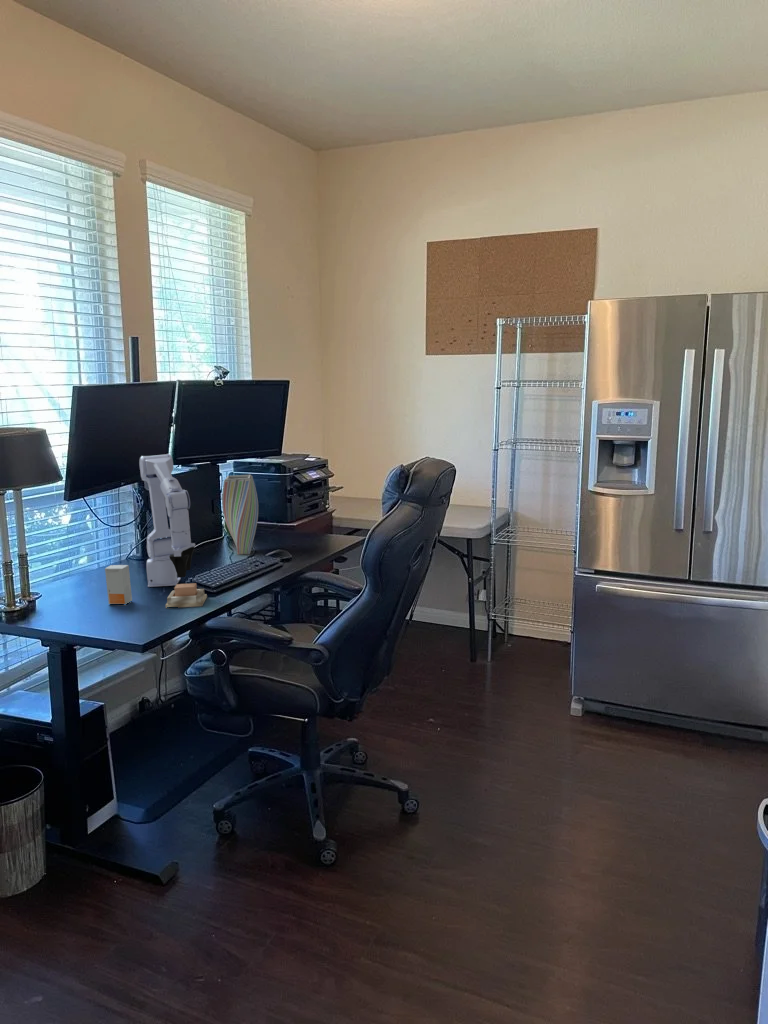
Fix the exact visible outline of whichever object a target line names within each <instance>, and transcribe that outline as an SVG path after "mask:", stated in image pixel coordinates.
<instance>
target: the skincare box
mask: <svg viewBox="0 0 768 1024" xmlns="http://www.w3.org/2000/svg"><path fill="white" fill-rule="evenodd" d="M129 566H130V565H128V564H110V565H109V566H107V567H105V568H104V573H105V580H106V581H105V583H106V592H107V601H108V602H107V604H108V605H109V604H127V603H129V602H130V601H132V602H133V596H132V586H131V575H130V567H129ZM130 603H131V602H130ZM130 603H129V604H130Z"/></svg>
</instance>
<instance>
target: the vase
mask: <svg viewBox="0 0 768 1024" xmlns="http://www.w3.org/2000/svg"><path fill="white" fill-rule="evenodd" d="M221 494H222V496H221V497H222V498H221V506H222V514H223V517H224V521H225V524H226V526H227V529H228V532H229V533H230V536H231V538H232V540H233V543H234V545H235V547H236V553H237V554H236V555H250V554H251V550H252V547H253V542H254V539H255V535H256V532H257V531H256V530H257V525H258V520H259V500H258V493H257V488H256V483H255V481H254V477H253V475H252V474H241V475H239V474H238V475H227V476H226V477H225V478H224V480H223V486H222V493H221Z"/></svg>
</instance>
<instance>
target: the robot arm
mask: <svg viewBox="0 0 768 1024" xmlns="http://www.w3.org/2000/svg"><path fill="white" fill-rule="evenodd" d="M138 461H139V462H138V464H139V470H140V471H139V472H140V473H139V474H140V478H141V481H143V482H146V483H147V486H148V491H149V498H150V499H149V501H150V509H151V515H152V522H153V524H152V525H153V530H152V531H151V532H150V533H149V534H148V535H147V536H146V552H147V555H148V557H149V558H148V559H147V560H146V579H147V587H148V588H150V587H151V588H153V587H169V586H171V587H173V586H176V585H177V584H179V582H180V581H181V578H185V577H186V575H187V571H190V570H191V566H192V565H191V564H192V556H193V554H194V550H195V547H196V543H195V542H192V539H191V527H190V517H189V516H190V515H189V510H190V508H191V499H190V494H189V492H188V490H187V489H186V490H185V489H183V488H182V486H181V484H180V482H179V480H178V479H177V478H175V477H173V475H172V472H173V470H174V460H173V457H172V455H171V454H170V453H166V454H165V453H164V454H157V455H156V454H155V455H141V456H140V457H139V460H138ZM168 518H169V523H168ZM169 526H170V527H169Z"/></svg>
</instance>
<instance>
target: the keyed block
mask: <svg viewBox="0 0 768 1024" xmlns="http://www.w3.org/2000/svg"><path fill="white" fill-rule="evenodd" d="M197 587H198V586H197V583H196V582H194V583H193V582H192V583H177V585H174V587H173V589H174V590H175V596H194V595H197V589H198V588H197Z"/></svg>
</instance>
